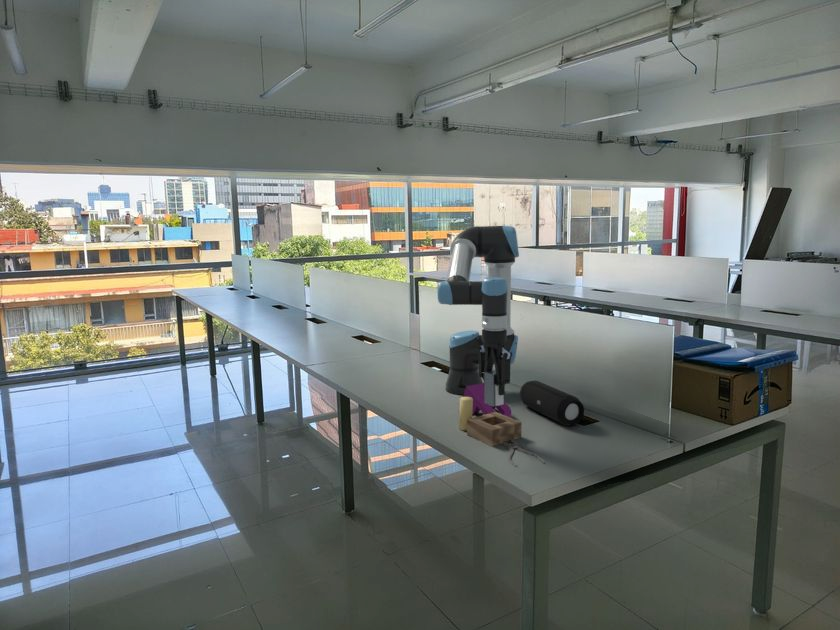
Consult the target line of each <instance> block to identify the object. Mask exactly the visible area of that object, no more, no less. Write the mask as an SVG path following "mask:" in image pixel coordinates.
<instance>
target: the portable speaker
mask: <svg viewBox="0 0 840 630" xmlns="http://www.w3.org/2000/svg"><path fill="white" fill-rule="evenodd" d="M519 397H520V399H521V401H522V403H523V404H524V405H525V407H528V408H530V409H532V410H534V411H535V412H538V413H540V414H542V415H544V416H546V417H548V418H550V419H552V420H554V421H556V422H558V423H560V424H562V425H563V426H564V425H565V426H575V425H577V424H579V423H580V422H581V421H582V420H583V418H584V414H585V407H584V404H583V403H582V401H581V400H580V399H579V398H578V397H576V396H574V395H572V394H570V393H567V392H565V391H562V390H560V389H559V388H556V387H553V386H551V385H548V384H546V383H544V382H541V381H539V380H529V381H526V382H525V383H524V384H523V385H522V386H521V388H520V391H519Z"/></svg>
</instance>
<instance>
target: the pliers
mask: <svg viewBox="0 0 840 630" xmlns="http://www.w3.org/2000/svg"><path fill="white" fill-rule="evenodd" d="M509 442H510V443H508V442H506V441H503V442H502V445H503V446H504V447H506V448H507V449H508V450H509V453H508V457H507V460H508V462H509V463H510V464H511V465H512V466H514V467H515V468H517V467H518V465H517V464H516V463H514V461H513V460H512V458H513V455H514V453H515V450H517V451H519V452H522V453H524V454H527V455H530V456H533V457H535V458H536V459H538V460H540V461H541V462H542V464H543V465H544V464H546V462H545V460H544V459H543V458H542V457H541V456H540V455H538V454H536V453H533V452H531V451H528V450H526V449H524V448H521V446H520V445H519V444H518V443H517V442H516V441H515V440H513V439H510V441H509Z"/></svg>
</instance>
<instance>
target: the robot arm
mask: <svg viewBox="0 0 840 630" xmlns="http://www.w3.org/2000/svg"><path fill="white" fill-rule="evenodd" d="M518 246H519V244H518V235H517V230H516V227H514V226H512V225H483V226H480V225H479V226H478V225H475V226H472V227H471V226H470V227H468V228H466V229H464V230H463V231H461V232H459V233H458V234H457V235H456V236H455V237H454V238H453V240H452V242H451V244H450V248H449V249H450V250H449V253H450V255H451V256H450V262H449V268H448V272H447V276H446V280H444V281H439V282H438V284H437V301H438V303H439V304H441V305H449V306H456V305H459V306H461V305H462V306H464V305H465V306H466V305H470V306H471V305H472V306H473V305H475V306H477V305H478V306H479V305H481V327H482V330H481V334H480V332H479V331H478V330H462V331H458V332H455V333H453V334H452V335H450V337H449V346H448V347H449V371H448V376H447V379H446V382H445V391H446V392H448V393H450V394H453V395H464V392H465V389H466V386H471V385H476V384H481V383H485V372H487V371H492V370H493V368H495V369H494V370H496V378H497V384H496V385H495V405H496V406H499V405H503V404H504V402H505V400H504V399H505V397H504V396H505V391H506V389H505V388H506V387H505V386H506V385H507V384H510V383H511V365H513V364H515V361H516V358H517V357H516V356H517V350H518V342H519V341H518V340H519V336H518V335H516V334H515V330H514V329H513V328H512V327H511V315H512V314H511V311H512V309H511V302H512V301H511V299H512V295H511V294H512V293H511V292H512V291H511V287H512V281H511V280H512V266H513V265H514V263H515V262H516V258H518V257H520V254H519V252H520V251H519V247H518ZM474 258H483V260H484V261H483V263H484V264H485V265H486V266H487V277H484V278H483V279H482V281H481V280H480V281H477V280H475V281H474V280H473V281H471V280H470V279H471V273H472V272H471V271H472V264H473V260H474Z"/></svg>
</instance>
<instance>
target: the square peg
mask: <svg viewBox="0 0 840 630" xmlns="http://www.w3.org/2000/svg"><path fill="white" fill-rule="evenodd" d="M483 383H484V382H483ZM496 384H497V378H496V370H495V369H494V370H493V369H492V371H487V372H485V383H484V403H485V404H488V405H490V406H493V407H494V406H496V405H495V385H496Z"/></svg>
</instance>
